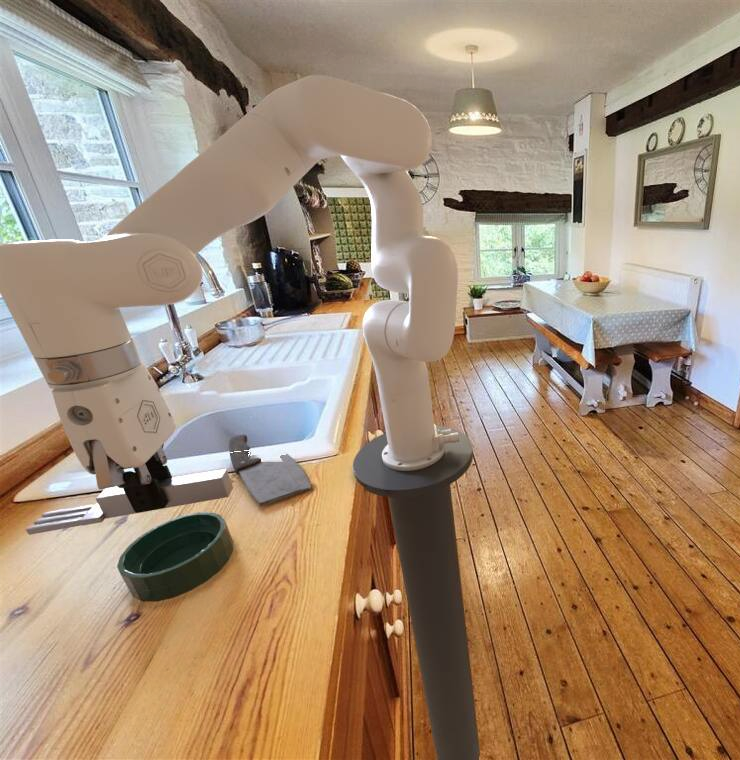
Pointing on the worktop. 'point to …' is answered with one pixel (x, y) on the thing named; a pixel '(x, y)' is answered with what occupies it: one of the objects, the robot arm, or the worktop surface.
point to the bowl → (176, 556)
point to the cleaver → (267, 474)
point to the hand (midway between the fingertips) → (157, 501)
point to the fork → (118, 504)
